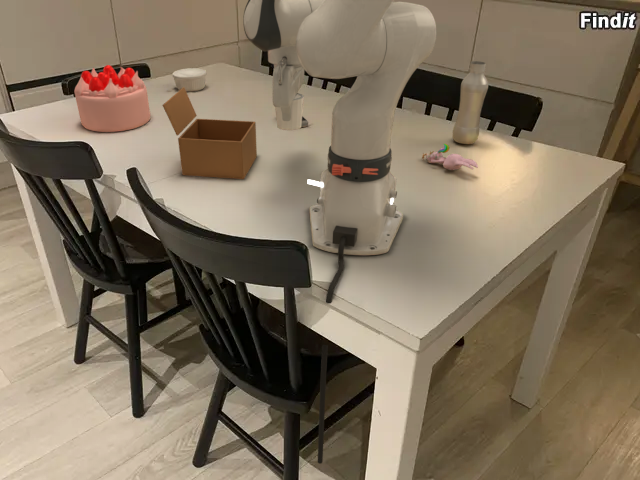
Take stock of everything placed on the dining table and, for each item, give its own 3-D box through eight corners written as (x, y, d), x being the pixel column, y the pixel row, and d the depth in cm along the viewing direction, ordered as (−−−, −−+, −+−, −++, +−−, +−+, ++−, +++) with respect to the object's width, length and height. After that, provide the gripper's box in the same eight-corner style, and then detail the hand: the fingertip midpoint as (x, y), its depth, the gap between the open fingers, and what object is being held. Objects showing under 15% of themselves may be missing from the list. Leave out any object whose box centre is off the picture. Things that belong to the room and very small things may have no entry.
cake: (161, 123, 161) (154, 72, 153) (93, 138, 152) (82, 85, 144) (135, 106, 175) (128, 58, 167) (71, 119, 165) (60, 69, 157)
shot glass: (309, 124, 131) (309, 94, 127) (294, 133, 126) (293, 101, 122) (284, 120, 134) (284, 90, 130) (268, 128, 129) (267, 97, 126)
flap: (163, 104, 122) (162, 105, 122) (178, 135, 126) (176, 135, 126) (184, 87, 134) (182, 87, 134) (196, 115, 137) (195, 116, 137)
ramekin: (169, 92, 187) (167, 76, 184) (180, 83, 196) (178, 67, 193) (202, 93, 186) (200, 77, 183) (211, 84, 195) (209, 68, 192)
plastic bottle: (459, 136, 150) (472, 58, 139) (482, 142, 146) (497, 62, 135) (446, 142, 147) (458, 63, 136) (469, 149, 143) (484, 67, 132)
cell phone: (296, 115, 166) (296, 110, 165) (309, 127, 158) (309, 122, 157) (276, 117, 165) (276, 112, 164) (288, 129, 156) (288, 124, 155)
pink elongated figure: (416, 167, 137) (465, 178, 125) (416, 142, 134) (466, 152, 123) (435, 161, 140) (484, 172, 128) (435, 137, 137) (485, 146, 125)
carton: (243, 179, 129) (241, 142, 124) (182, 175, 131) (177, 138, 126) (256, 156, 140) (255, 121, 135) (200, 153, 142) (196, 118, 137)
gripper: (294, 63, 112) (295, 131, 120) (309, 43, 129) (309, 103, 137) (263, 63, 113) (266, 130, 121) (282, 43, 130) (283, 103, 138)
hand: (289, 115), depth 129 cm, fingers closed on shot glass, 5 cm apart
